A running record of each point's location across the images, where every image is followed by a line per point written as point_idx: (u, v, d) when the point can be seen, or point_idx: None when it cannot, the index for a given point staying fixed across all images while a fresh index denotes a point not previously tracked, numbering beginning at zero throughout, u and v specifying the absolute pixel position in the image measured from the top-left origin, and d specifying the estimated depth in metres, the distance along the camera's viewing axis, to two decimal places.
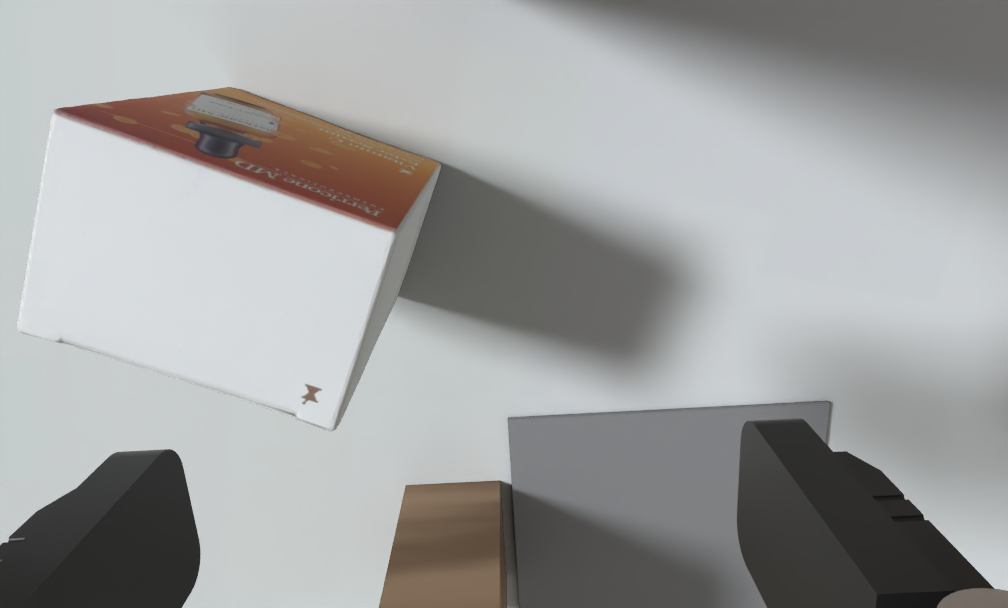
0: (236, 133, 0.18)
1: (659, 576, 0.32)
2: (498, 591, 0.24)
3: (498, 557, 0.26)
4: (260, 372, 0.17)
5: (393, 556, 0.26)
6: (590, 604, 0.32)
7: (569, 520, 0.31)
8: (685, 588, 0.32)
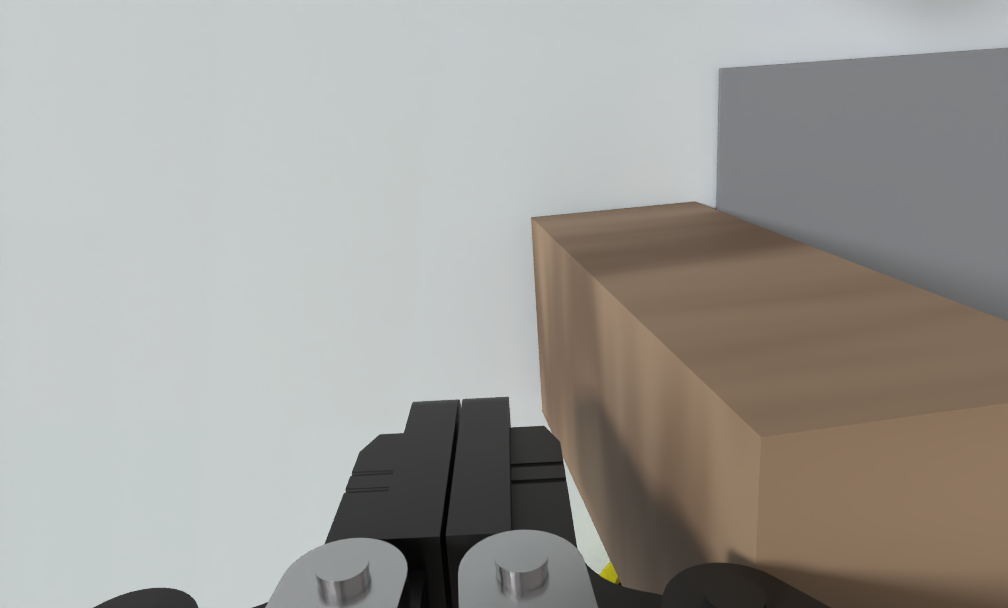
0: None
1: None
2: (863, 268, 0.11)
3: (802, 244, 0.13)
4: None
5: (586, 261, 0.12)
6: None
7: None
8: None
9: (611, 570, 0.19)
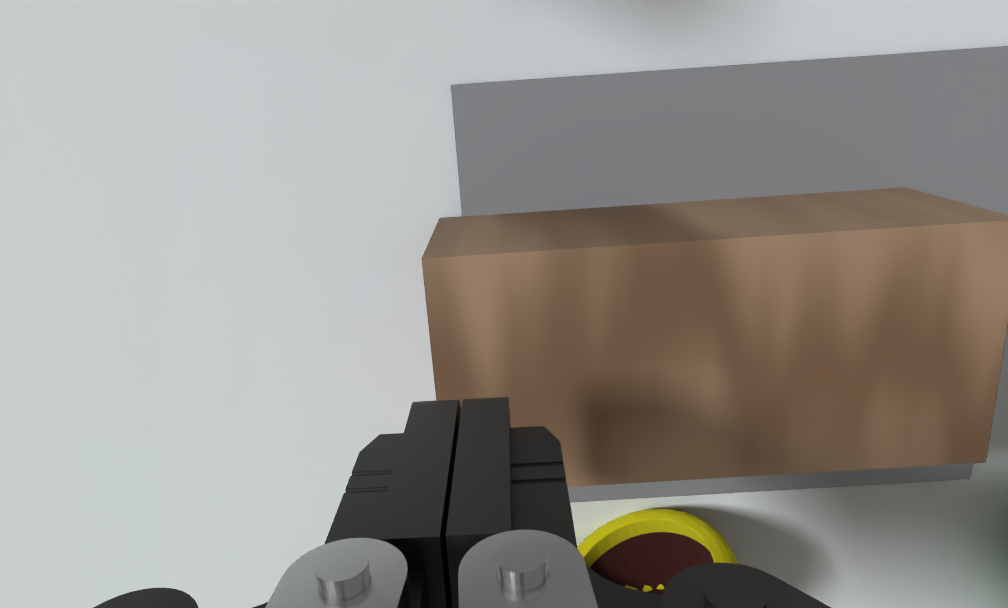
0: None
1: None
2: (715, 200, 0.17)
3: (643, 205, 0.17)
4: None
5: (666, 240, 0.13)
6: None
7: None
8: None
9: None
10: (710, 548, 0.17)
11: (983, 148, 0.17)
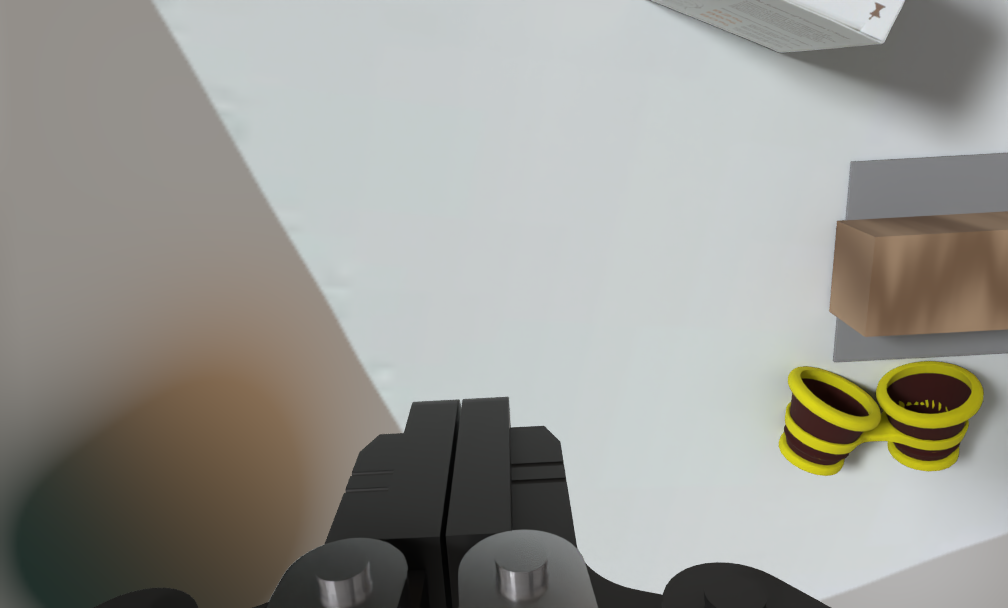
0: None
1: None
2: (963, 214, 0.37)
3: None
4: None
5: (971, 230, 0.34)
6: None
7: None
8: None
9: (796, 370, 0.39)
10: (964, 373, 0.38)
11: None
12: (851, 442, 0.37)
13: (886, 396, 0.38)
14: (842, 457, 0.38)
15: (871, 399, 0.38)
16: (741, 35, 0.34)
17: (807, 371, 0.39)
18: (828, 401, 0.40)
